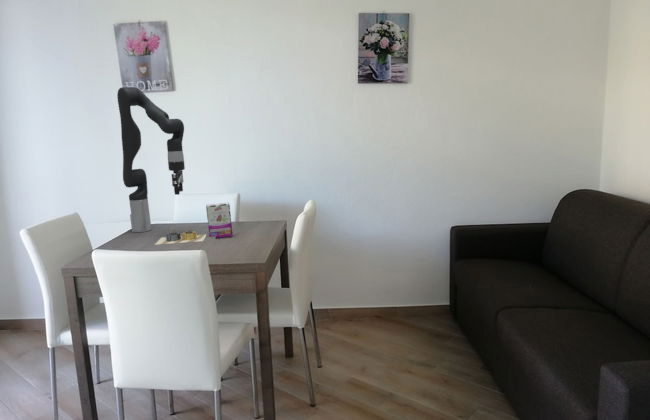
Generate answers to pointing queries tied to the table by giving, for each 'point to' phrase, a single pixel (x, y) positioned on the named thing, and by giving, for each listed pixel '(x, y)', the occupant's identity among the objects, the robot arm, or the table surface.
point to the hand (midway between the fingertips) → (178, 192)
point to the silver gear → (173, 237)
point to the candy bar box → (219, 220)
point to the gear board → (188, 230)
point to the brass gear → (189, 235)
